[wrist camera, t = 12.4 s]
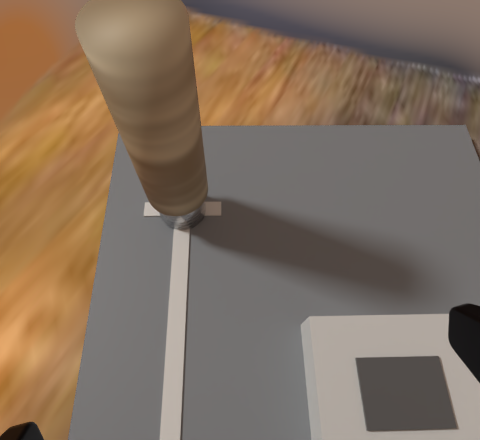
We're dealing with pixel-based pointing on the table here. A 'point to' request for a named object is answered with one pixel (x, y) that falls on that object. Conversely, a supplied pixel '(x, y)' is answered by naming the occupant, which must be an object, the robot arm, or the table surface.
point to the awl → (151, 98)
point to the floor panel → (269, 273)
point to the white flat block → (387, 379)
